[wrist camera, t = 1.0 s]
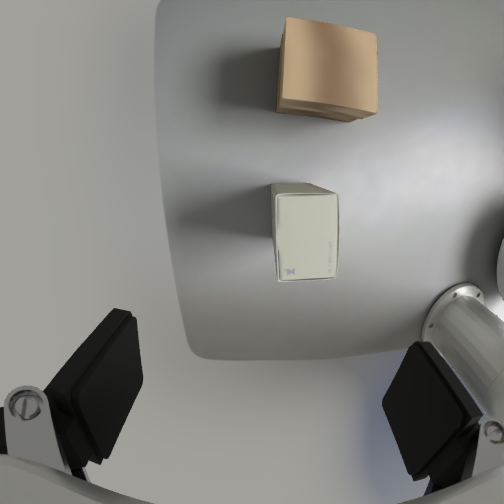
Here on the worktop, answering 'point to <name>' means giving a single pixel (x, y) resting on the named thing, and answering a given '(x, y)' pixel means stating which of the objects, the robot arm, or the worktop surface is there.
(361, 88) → the oak top block
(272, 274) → the worktop surface
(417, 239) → the worktop surface
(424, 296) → the worktop surface
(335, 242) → the skincare box
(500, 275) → the cereal bowl
